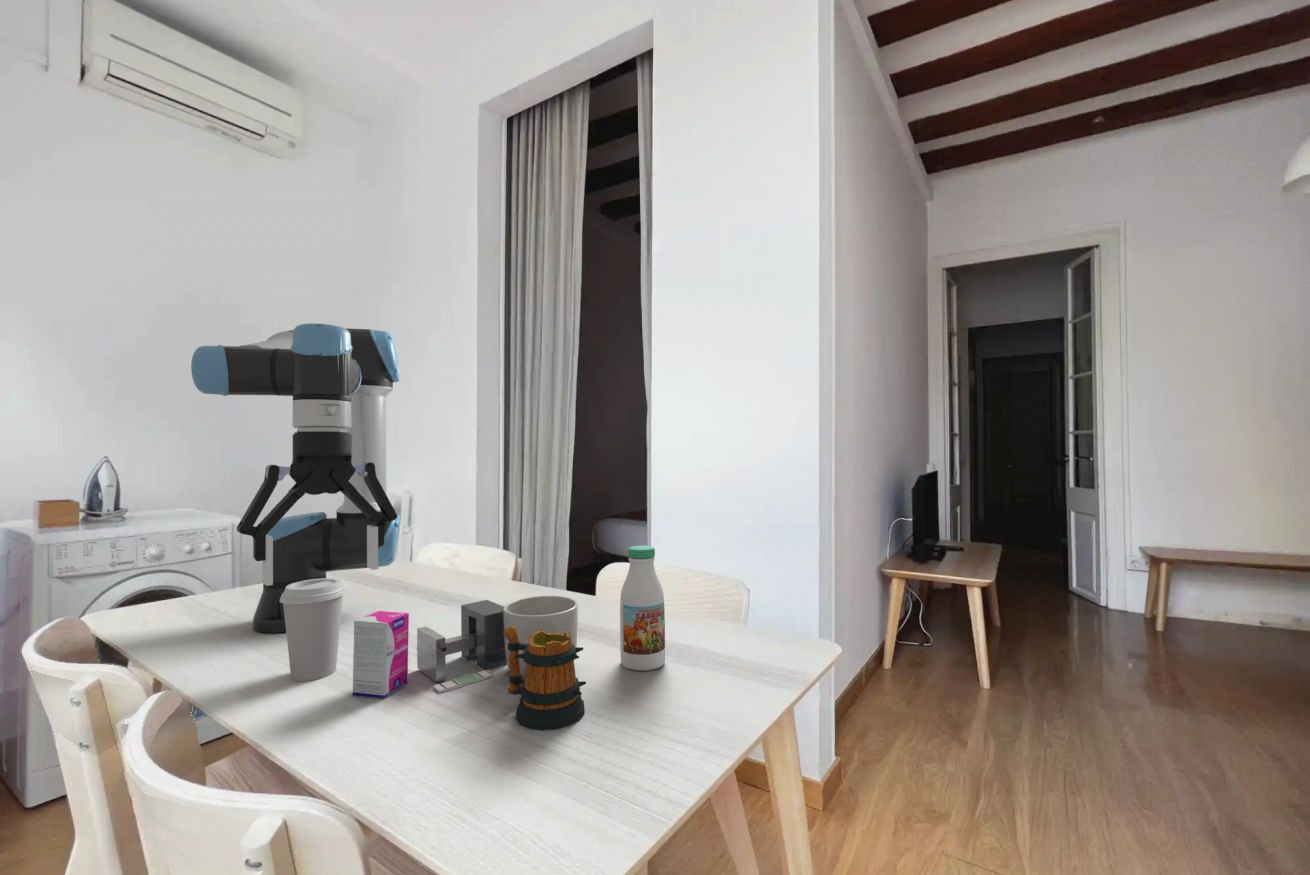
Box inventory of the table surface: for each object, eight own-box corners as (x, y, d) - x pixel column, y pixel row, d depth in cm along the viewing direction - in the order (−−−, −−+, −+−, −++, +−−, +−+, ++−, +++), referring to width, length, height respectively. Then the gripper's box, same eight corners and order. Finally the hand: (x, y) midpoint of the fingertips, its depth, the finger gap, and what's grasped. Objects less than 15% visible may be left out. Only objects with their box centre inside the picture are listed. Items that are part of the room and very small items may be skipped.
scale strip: (433, 688, 88) (433, 685, 88) (487, 672, 94) (487, 669, 94) (439, 693, 86) (439, 690, 86) (493, 676, 93) (493, 673, 93)
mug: (600, 704, 82) (599, 624, 82) (560, 738, 73) (559, 648, 73) (526, 689, 87) (526, 614, 88) (481, 719, 78) (480, 635, 78)
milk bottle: (611, 664, 97) (609, 547, 97) (642, 651, 103) (641, 541, 103) (643, 676, 92) (641, 553, 92) (674, 662, 98) (673, 546, 98)
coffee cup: (337, 658, 101) (336, 574, 102) (354, 672, 95) (353, 583, 95) (274, 673, 95) (273, 584, 95) (287, 690, 88) (287, 594, 88)
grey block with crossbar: (417, 668, 96) (417, 628, 96) (483, 649, 104) (483, 613, 104) (442, 686, 88) (442, 643, 88) (512, 665, 96) (511, 626, 96)
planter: (535, 652, 103) (534, 592, 103) (592, 663, 98) (592, 599, 98) (487, 677, 92) (486, 610, 92) (549, 691, 87) (548, 620, 87)
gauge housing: (461, 656, 101) (461, 605, 102) (487, 649, 105) (487, 599, 105) (484, 670, 95) (484, 615, 95) (511, 662, 98) (511, 609, 98)
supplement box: (385, 699, 84) (385, 622, 85) (351, 696, 86) (351, 620, 86) (410, 683, 90) (409, 611, 90) (377, 680, 91) (377, 609, 92)
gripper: (220, 428, 72) (220, 596, 71) (418, 430, 89) (419, 565, 89) (212, 430, 77) (212, 586, 77) (400, 432, 94) (401, 559, 94)
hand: (323, 575), depth 83 cm, fingers open, 13 cm apart
